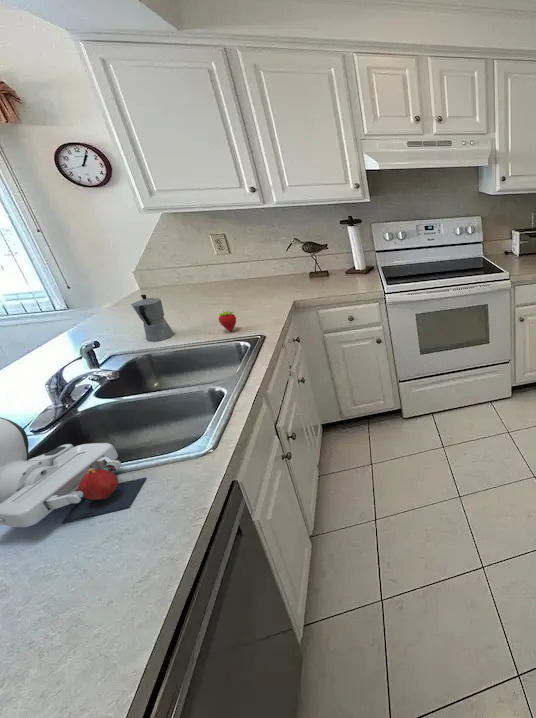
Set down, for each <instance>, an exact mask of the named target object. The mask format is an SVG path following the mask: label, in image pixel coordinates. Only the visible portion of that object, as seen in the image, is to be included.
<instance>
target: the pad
mask: <svg viewBox="0 0 536 718" xmlns="http://www.w3.org/2000/svg"><path fill="white" fill-rule="evenodd" d="M147 478H148V477H146V476H145V477H140V478H137V479H131V480H127V481H122V482H118V485H117V487H116V489H115V490H114V492H113V493H112V494H111V496H110V497H109V498H107V499H99V500H90V499H87V498H83V499H82V500H81V501H80V502H79V503H74V505H73V507H72V508H71V510H70V511H69V512H68V513H67V515H66V516H65V517H64V519H63V520H62V522H61V524H62V525H65V524H68V523H72V522H77V521H81V520H84V519H85V520H86V519H89V518H93V517H98V516H103V515H107V514H110V513H114V512H119V511H122V510H126V509H130V508H131V506H132V505H133V503H134V501H135V499H136V498H137V496H138V494H139V492H140V491H141V489H142V488H143V486H142V485H144V484H145V482H146V480H147Z"/></svg>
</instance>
